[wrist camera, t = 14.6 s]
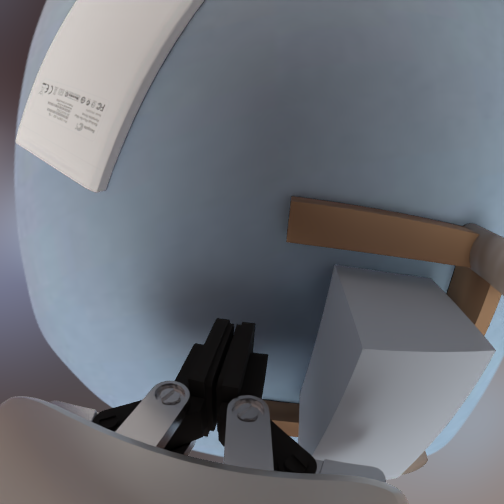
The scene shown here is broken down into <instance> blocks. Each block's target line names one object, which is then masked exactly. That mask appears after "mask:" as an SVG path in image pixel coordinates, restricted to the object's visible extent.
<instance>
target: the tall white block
mask: <svg viewBox="0 0 504 504" xmlns="http://www.w3.org/2000/svg"><path fill="white" fill-rule="evenodd" d="M495 351H496V350H495V349H494V348H493V346H492V345H491V344H490V343H489V341H488V340H487V339H486V338H485V337H484V335H483V334H482V333H481V332H480V331H479V330H478V328H477V327H476V326H475V325H474V324H473V323H472V321H471V320H470V319H469V318H468V317H467V316H466V315H465V314H464V312H463V311H462V310H461V309H460V308H459V307H458V306H457V305H456V304H455V303H454V302H453V301H452V299H451V298H450V297H449V296H448V295H447V294H446V293H445V292H444V291H443V290H442V289H441V288H440V287H439V286H438V285H437V284H436V283H435V282H434V281H433V280H432V279H431V278H425V277H418V276H411V275H404V274H397V273H390V272H383V271H376V270H369V269H363V268H356V267H349V266H342V265H335V264H334V269H333V273H332V278H331V282H330V287H329V291H328V295H327V299H326V304H325V308H324V312H323V316H322V319H321V323H320V327H319V331H318V334H317V338H316V342H315V345H314V349H313V352H312V356H311V359H310V363H309V366H308V369H307V373H306V376H305V379H304V382H303V385H302V388H301V392H300V404H299V435H298V444H299V445H300V446H301V447H302V448H304V449H305V450H306V451H307V452H308V453H310V454H311V455H312V456H313V457H314V458H315V459H316V460H321V461H324V459H328V460H333V461H339V462H345V463H351V464H358V465H365V466H372V467H376V468H378V469H380V470H381V471H383V473H384V475H385V478H386V480H387V479H395V478H398V477H399V476H400V475H401V474H402V473H403V472H404V471H405V470H406V469H407V468H408V467H409V466H410V465H411V464H412V463H413V462H414V461H415V460H416V459H417V458H418V457H419V456H420V455H421V454H422V453H423V452H424V451H425V450H426V449H427V448H428V447H429V445H430V444H431V443H432V442H433V441H434V440H435V439H436V437H437V436H438V435H439V434H440V433H441V431H442V430H443V429H444V428H445V427H446V425H447V424H448V423H449V422H450V420H451V419H452V418H453V416H454V415H455V414H456V412H457V411H458V410H459V408H460V407H461V406H462V404H463V403H464V401H465V400H466V399H467V397H468V396H469V394H470V393H471V391H472V390H473V388H474V387H475V385H476V383H477V382H478V380H479V379H480V377H481V375H482V374H483V372H484V370H485V369H486V367H487V365H488V364H489V362H490V360H491V358H492V356H493V355H494V353H495Z"/></svg>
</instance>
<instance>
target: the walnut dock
mask: <svg viewBox="0 0 504 504" xmlns="http://www.w3.org/2000/svg"><path fill="white" fill-rule="evenodd" d="M286 242H290V243H297V244H305V245H313V246H321V247H328V248H336V249H343V250H351V251H358V252H366V253H373V254H380V255H387V256H394V257H401V258H408V259H415V260H422V261H429V262H436V263H443V264H449V265H456V266H455V270H454V273H453V276H452V280H451V283H450V286H449V289H448V292H447V295H448V296H449V297H450V298H451V299H452V301H453V302H454V303H455V304H456V305H457V306H458V307H459V308H460V309H461V310H462V311H463V312H464V314H465V315H466V316H467V317H468V318H469V319H470V320H471V321H472V323H473V324H474V325H475V326H476V327H477V328H478V330H479V331H480V332H481V333H482V334H483V335H485V333H486V331H487V329H488V327H489V324H490V322H491V320H492V317H493V315H494V313H495V310H496V308H497V305H498V302H499V300H500V297H501V294H502V295H503V296H504V238H503V237H501V236H499V235H497V234H495V233H493V232H491V231H489V230H487V229H485V228H482V227H480V226H478V225H476V224H473V223H469V224H466V225H464V226H459V225H455V224H451V223H446V222H442V221H437V220H433V219H428V218H423V217H418V216H413V215H408V214H403V213H398V212H392V211H387V210H381V209H375V208H370V207H364V206H358V205H351V204H345V203H338V202H332V201H325V200H317V199H310V198H303V197H295V196H291V204H290V213H289V221H288V230H287V241H286ZM263 401H265V402H266V404H267V405H268V407H269V413H270V419H271V420H272V421H273V422H274V423H275V424H276V425H277V426H278V427H279V428H281V429H282V430H283V431H284V432H285V433H286V434H287V435H288V436H293V437H298V435H299V404H295V403H285V402H277V401H268V400H263ZM427 461H428V459H427V455H426V452H425V451H424V452H423V453H422V454H421V455H420V456H419V457H418V458H417V459H416V460H415V461H414V462H413V463H412V464H411V465H410V466H409V467H408V468H407V469H406V470H405V471H404V472H403V473H402V474H407V473H410V472H413V471H415V470H417V469H419V468H421V467H422V466H423V465H425V464H426V462H427ZM402 474H401V475H402Z"/></svg>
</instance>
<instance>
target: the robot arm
mask: <svg viewBox="0 0 504 504" xmlns="http://www.w3.org/2000/svg"><path fill="white" fill-rule="evenodd" d="M254 332H255V323H247V322H242V325H238V324H237V326H236V329H235V332H234V324H231V323H230V320H226V319H219V318H217V319H216V321H215V323H214V325H213V327H212V329H211V331H210V333H209V336H208V338H207V340H206V342H205V344H204V345H201V344H194V345H193V347H192V349H191V351H190V353H189V355H188V357H187V358H186V360H185V362H184V364H183V366H182V368H181V370H180V372H179V374H178V376H177V377H176V379H175V381H164V382H161V383H158V384H157V385H155V386H154V387H153V388H152V389H151V391H150V392H149V393H148V394H147V395H146V397H145V398H144V399H143V400H140V401H137V402H133V403H130V404H126V405H123V406H119V407H115V408H111V409H108V410H104V411H102V412H100V413H97V412H96V410H94V409H88V408H85V407H80V406H76V405H72V404H68V403H64V402H61V401H52V402H46V401H43V400H40V399H36V398H31V397H24V396H16V397H12V398H10V399H8V400H6V401H5V402H3V403H2V404H1V405H0V504H409V503H408V500H407V499H406V497H405V495H404V494H403V493H402V491H401V490H399V489H398V488H396V487H395V486H393V485H390V484H388V483H386V478H385V475H384V473H383V471H381V470H380V469H378V468H376V467H372V466H365V465H358V464H351V463H345V462H339V461H333V460H328V459H324V461H321V460H316V459H315V458H314V457H313V456H312V455H311V454H310V453H308V452H307V451H306V450H305V449H304V448H302V447H301V446H300V445H299V444H298V443H297V442H295V441H294V440H293V439H292V438H291V437H290V436H288V435H287V434H286V433H285V432H284V431H283V430H282V429H281V428H279V427H278V426H277V425H276V424H275V423H274V422H273V421H272V420H271V419H270V413H269V407H268V405H267V404H266V402H265V401H263V400H262V394H263V387H264V381H265V374H266V367H267V360H268V355H267V354H259V353H253V343H254ZM216 424H217V431H218V433H219V441H220V442H221V444H222V445H223V446H224V447H225V448H224V464H222V463H217V462H212V461H207V460H202V459H198V458H194V457H190V456H188V455H189V454H190V452H191V450H192V448H193V447H194V445H195V442H196V439H199V438H201V437H203V436H206V437H208V434H209V431H210V430H211V431H214V430H215V427H216Z"/></svg>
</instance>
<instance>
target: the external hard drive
mask: <svg viewBox="0 0 504 504" xmlns="http://www.w3.org/2000/svg"><path fill="white" fill-rule="evenodd" d="M203 2H204V0H77V1H76V2H75V4H74V5H73V7H72V8H71V10H70V12H69V13H68V15H67V17H66V18H65V20H64V22H63V23H62V25H61V27H60V29H59V31H58V32H57V34H56V36H55V38H54V40H53V42H52V44H51V46H50V48H49V50H48V52H47V54H46V56H45V58H44V60H43V63H42V65H41V67H40V70H39V72H38V74H37V77H36V79H35V82H34V84H33V87H32V90H31V93H30V95H29V98H28V101H27V104H26V107H25V110H24V113H23V116H22V119H21V123H20V126H19V129H18V133H17V137H16V143H17V144H18V145H20V146H21V147H23V148H24V149H26V150H28V151H29V152H31V153H32V154H34V155H35V156H37V157H38V158H40V159H41V160H43V161H44V162H46V163H47V164H49V165H50V166H52V167H54V168H55V169H57V170H58V171H60V172H61V173H63V174H64V175H66V176H67V177H69V178H71V179H72V180H74V181H75V182H77V183H78V184H80V185H82V186H83V187H85V188H86V189H88V190H91V191H93V192H96V193H97V192H101V191H105V190H106V188H107V185H108V182H109V180H110V177H111V174H112V171H113V168H114V166H115V163H116V161H117V158H118V155H119V153H120V150H121V148H122V145H123V143H124V141H125V138H126V136H127V134H128V131H129V129H130V127H131V124H132V122H133V120H134V118H135V116H136V114H137V111H138V109H139V107H140V105H141V103H142V101H143V99H144V97H145V95H146V93H147V91H148V89H149V87H150V85H151V84H152V82H153V80H154V78H155V76H156V74H157V72H158V71H159V69H160V67H161V65H162V64H163V62H164V60H165V58H166V57H167V55H168V53H169V52H170V50H171V48H172V47H173V45H174V44H175V42H176V40H177V39H178V37H179V36H180V34H181V33H182V31H183V30H184V28H185V27H186V25H187V24H188V22H189V21H190V19H191V18H192V17H193V15H194V14H195V12H196V11H197V10H198V8H199V7H200V5H201V4H202V3H203Z"/></svg>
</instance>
